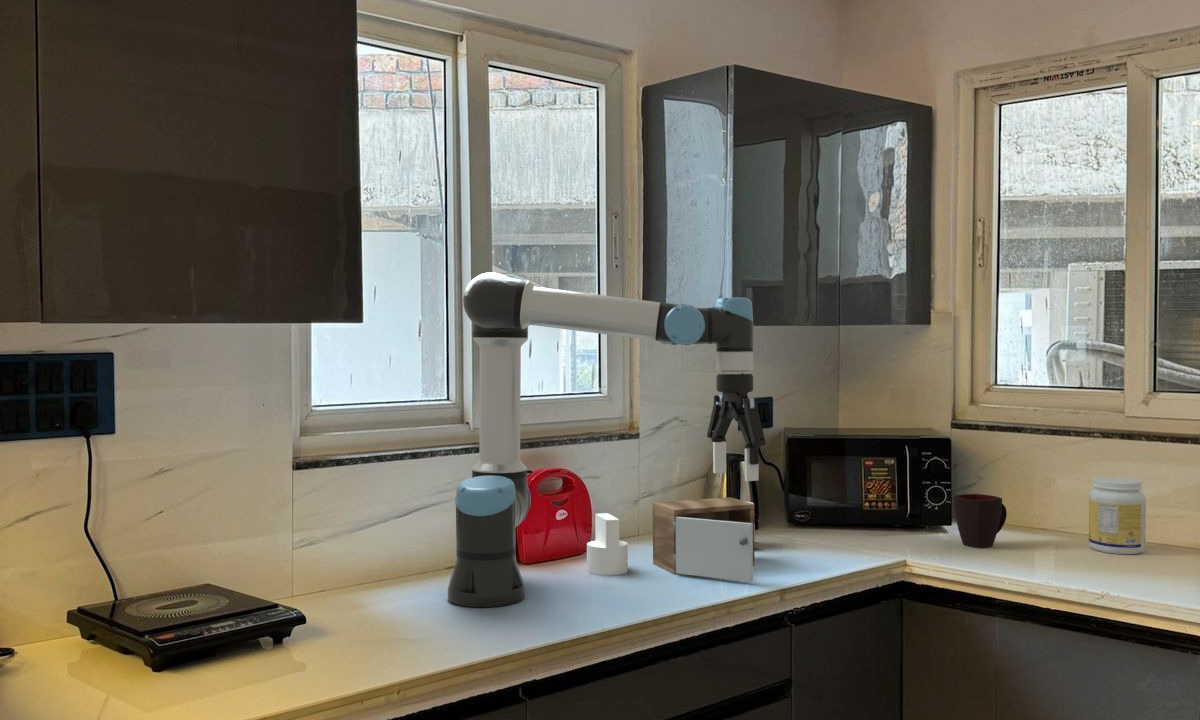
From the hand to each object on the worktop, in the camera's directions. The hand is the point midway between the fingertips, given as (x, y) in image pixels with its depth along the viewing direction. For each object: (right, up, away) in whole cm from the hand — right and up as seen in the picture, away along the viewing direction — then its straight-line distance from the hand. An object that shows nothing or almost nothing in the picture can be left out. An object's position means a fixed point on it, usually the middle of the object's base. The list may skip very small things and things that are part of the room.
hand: (735, 476), depth 207 cm
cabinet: (-5, -22, +20) cm, 30 cm away
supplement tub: (+96, -22, +34) cm, 105 cm away
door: (-4, -22, +6) cm, 23 cm away
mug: (+67, -22, +41) cm, 81 cm away
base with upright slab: (-26, -23, +15) cm, 38 cm away
